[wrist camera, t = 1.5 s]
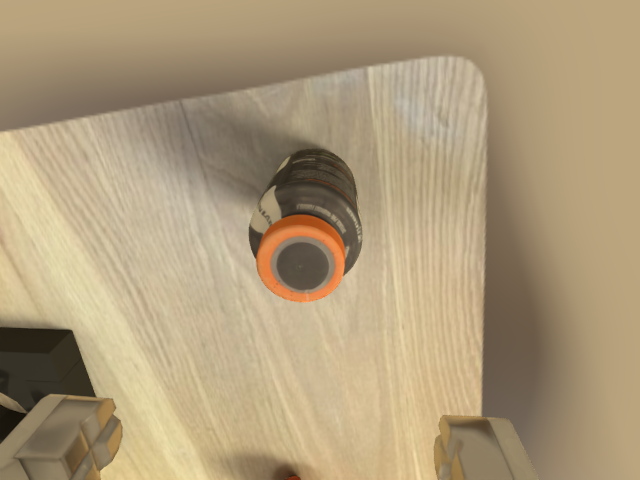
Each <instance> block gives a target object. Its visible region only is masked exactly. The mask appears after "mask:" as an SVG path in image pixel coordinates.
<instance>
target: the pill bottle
mask: <svg viewBox="0 0 640 480" xmlns="http://www.w3.org/2000/svg"><path fill="white" fill-rule="evenodd" d="M249 241H250V246H251V250H252V252H253V255H254V257H255V258H256V262H257V270H258V273H259V276H260V278H261V280H262V281H263V283H264V284H265V286H266V287H267V288H268V289H269V290H271V291H272V292H273V293H274V294H276V295H278V296H280V297H282V298H284V299H287V300H290V301H295V302H310V301H314V300H317V299H321V298H323V297H325V296H327V295H328V294H329V293H331V292H332V291H333V290H334V289H335V288H336V287H337V286H338V284H339V283H340V281H341V279H342V277H343V276H344V275H345V274H346V273H347V272H348V271H349V270H350V269H351V268H352V267H353V265H354V264H355V262H356V260H357V258H358V256H359V253H360V250H361V246H362V225H361V213H360V208H359V203H358V197H357V191H356V185H355V181H354V177H353V174H352V172H351V170H350V169H349V167H348V166H347V165H346V163H345V162H344V161H343V160H342V159H341V158H339V157H338V156H336V155H335V154H333V153H331V152H328V151H326V150H319V149H307V150H301V151H298V152H296V153H294V154H292V155H291V156H289V157H288V158H287V159H286V160H285V161H284V162H283V163H282V164H281V165H280V166H279V168H278V170H277V172H276V173H275V175H274V177H273V179H272V180H271V182H270V183H269V185H268V187H267V189H266V191H265V192H264V194H263V196H262V198H261V199H260V201H259V203H258V205H257V207H256V209H255V211H254V213H253V215H252V218H251V221H250V225H249Z"/></svg>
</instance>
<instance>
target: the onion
mask: <svg viewBox="0 0 640 480" xmlns="http://www.w3.org/2000/svg"><path fill="white" fill-rule="evenodd" d="M285 480H301V479H300V478H299V477H297V476H292V477H290V478H287V479H285Z"/></svg>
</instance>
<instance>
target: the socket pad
mask: <svg viewBox="0 0 640 480" xmlns="http://www.w3.org/2000/svg"><path fill="white" fill-rule="evenodd" d="M0 392H1V393H3V394H5V395H6V396H8V397H10V398H12V399H13V400H15V401H17V402H18V403H19V404H20V405H21V406H22V407H23V408H24V409H25V410H26V411H27V412H28V413H29V412H30V411H31V410H32V409H33V408H34V407H35V406H36V404H37V403H38V402H39V401H40V400H41V399H42V398H44V397H46V396H48V395H49V394H58V395H73V396H85V397H96V396H95V393H94V391H93V388H92V385H91V382H90V379H89V377H88V374H87V371H86V368H85V365H84V363H83V360H82V358H81V354H80V352H79V349H78V346H77V343H76V340H75V338H74V335H73V332H72V331H69V330H45V329H21V328H0ZM26 415H27V414H21V413H18V412H14V411H11V410H8V409H6V408H4V407H3V406H1V405H0V444H1V443H2V442H3V441H4V439H5V438H6V437H7V436H8V435H9V434H10V433H11V432H12V431H13V430H14V429H15V427H16V426H17V425H18V424H19V423H20V422H21V421H22V420H23V419H24V418H25V417H26Z"/></svg>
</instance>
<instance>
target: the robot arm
mask: <svg viewBox="0 0 640 480" xmlns="http://www.w3.org/2000/svg"><path fill="white" fill-rule="evenodd" d="M115 409H116V406H115V404H114V401H113V399H109V398H97V397H85V396H73V395H58V394H49V395H48V396H46V397H44V398H42V399H41V400H40V401H39V402H38V403H37V404H36V406H35V407H34V408H33V409H32V410H31V411H30V412H29V413H28V414H27V415H26V417H25V418H24V419H23V420H22V421H21V422H20V423H19V424H18V425H17V426H16V427H15V429H14V430H13V431H12V432H11V433H10V434H9V435H8V436H7V437H6V438H5V439H4V441H3V442H2V443H1V444H0V480H101V478H100V470H101V469H103V468H104V467H105V466H107V465H108V464H109V463H111V462H112V460H113V458H114V457H115V455H116V453H117V451H118V449H119V446H120V443H121V439H122V425H121V421H120V420H119V419H118V418H117V417H115V416H114V415H113V412H114V411H115ZM439 429H440V433H441V434H440V435H439V436H438V437H436V439H435V444H434V463H435V470H436V474H437V479H438V480H539V478H538V476H537V474H536V472H535V470H534V468H533V466H532V464H531V462H530V460H529V458H528V456H527V453H526V452H525V449H524V447H523V445H522V443H521V441H520V439H519V437H518V435H517V433H516V431H515V429H514V427H513V426H512V423H511V422H510V421H509V420H508V419H506V418H489V417H485V418H484V417H478V416H452V415H443V416H442V417H441V418H440V421H439Z"/></svg>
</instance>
